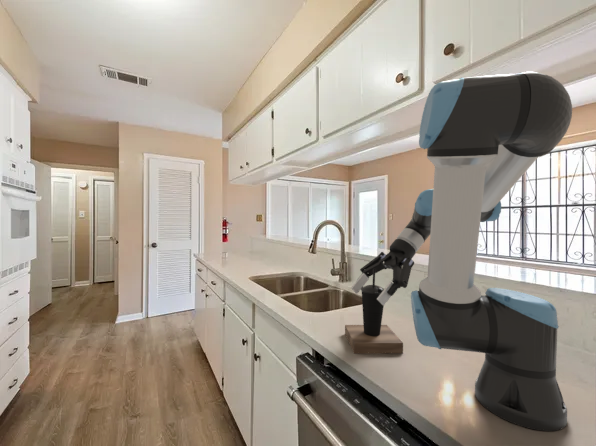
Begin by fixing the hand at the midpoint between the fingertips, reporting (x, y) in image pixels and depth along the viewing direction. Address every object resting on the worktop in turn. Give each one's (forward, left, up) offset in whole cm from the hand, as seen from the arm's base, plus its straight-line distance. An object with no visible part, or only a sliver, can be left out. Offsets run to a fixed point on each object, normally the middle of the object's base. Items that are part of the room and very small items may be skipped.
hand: (366, 296), depth 89 cm
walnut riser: (+1, -2, -15) cm, 15 cm away
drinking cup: (+1, -2, -12) cm, 12 cm away
